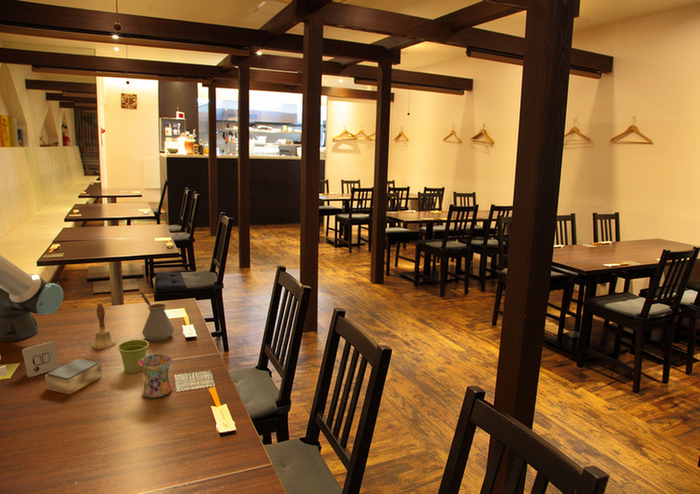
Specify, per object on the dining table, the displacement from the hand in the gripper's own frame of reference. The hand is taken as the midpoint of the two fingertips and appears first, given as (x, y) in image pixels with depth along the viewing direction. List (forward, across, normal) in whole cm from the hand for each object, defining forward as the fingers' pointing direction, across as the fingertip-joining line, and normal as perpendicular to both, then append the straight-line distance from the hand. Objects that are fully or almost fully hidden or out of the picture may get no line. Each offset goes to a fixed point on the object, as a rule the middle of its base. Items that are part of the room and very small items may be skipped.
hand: (3, 362), depth 146 cm
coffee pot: (+49, -10, -6) cm, 50 cm away
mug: (+34, +36, -6) cm, 49 cm away
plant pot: (+33, +17, -6) cm, 38 cm away
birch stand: (+16, +15, -6) cm, 23 cm away
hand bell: (+31, -10, -6) cm, 33 cm away
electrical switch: (+9, 0, -6) cm, 11 cm away
